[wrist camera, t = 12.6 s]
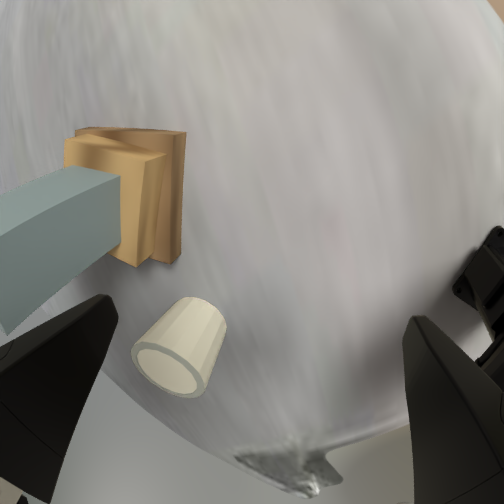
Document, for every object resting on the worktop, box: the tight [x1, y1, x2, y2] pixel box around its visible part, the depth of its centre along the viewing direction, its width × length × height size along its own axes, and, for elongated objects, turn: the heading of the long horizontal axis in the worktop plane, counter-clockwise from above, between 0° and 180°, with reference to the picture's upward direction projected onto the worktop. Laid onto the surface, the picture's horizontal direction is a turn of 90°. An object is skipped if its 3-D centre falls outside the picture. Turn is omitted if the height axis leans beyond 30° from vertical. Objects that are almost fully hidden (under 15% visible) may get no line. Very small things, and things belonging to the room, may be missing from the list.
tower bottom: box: [75, 127, 186, 264], centre depth 22 cm, size 10×10×2 cm
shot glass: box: [131, 297, 227, 398], centre depth 24 cm, size 7×7×7 cm
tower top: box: [64, 134, 167, 267], centre depth 20 cm, size 8×8×2 cm
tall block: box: [0, 165, 121, 336], centre depth 14 cm, size 5×5×11 cm
